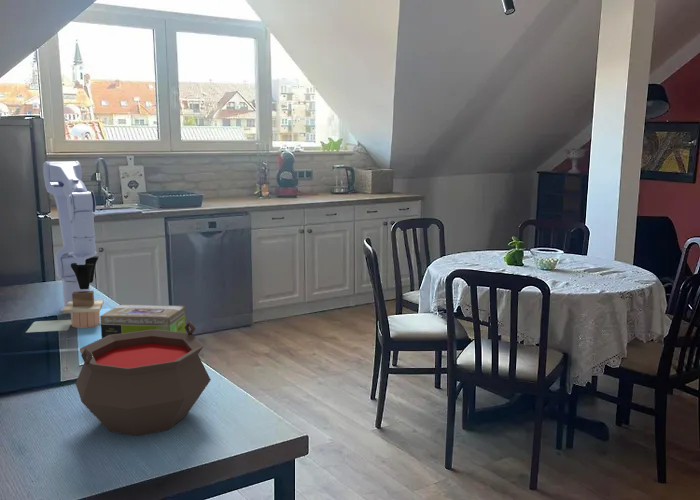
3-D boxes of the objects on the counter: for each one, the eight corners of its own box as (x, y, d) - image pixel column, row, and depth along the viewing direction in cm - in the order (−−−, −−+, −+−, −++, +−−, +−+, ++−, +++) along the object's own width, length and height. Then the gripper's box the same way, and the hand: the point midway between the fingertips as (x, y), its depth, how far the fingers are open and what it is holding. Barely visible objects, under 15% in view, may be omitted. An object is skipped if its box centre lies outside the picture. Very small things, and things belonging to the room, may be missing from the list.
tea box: (188, 369, 147) (186, 304, 144) (172, 386, 137) (169, 317, 134) (123, 366, 148) (120, 302, 145) (102, 383, 138) (98, 314, 136)
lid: (68, 304, 180) (67, 289, 179) (103, 302, 182) (102, 287, 181) (62, 313, 171) (61, 297, 170) (99, 311, 173) (98, 295, 173)
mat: (34, 323, 179) (34, 321, 179) (74, 321, 181) (73, 319, 181) (25, 334, 170) (25, 332, 169) (67, 332, 172) (67, 330, 172)
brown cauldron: (162, 383, 138) (158, 307, 135) (238, 415, 123) (237, 331, 120) (49, 421, 120) (43, 334, 117) (123, 464, 105) (118, 366, 102)
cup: (74, 323, 180) (73, 305, 179) (101, 321, 182) (100, 303, 181) (69, 330, 173) (68, 312, 172) (98, 328, 175) (97, 310, 174)
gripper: (72, 232, 184) (75, 280, 186) (62, 241, 170) (66, 292, 173) (99, 232, 186) (101, 279, 188) (91, 240, 172) (94, 291, 174)
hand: (86, 285), depth 180 cm, fingers open, 7 cm apart
